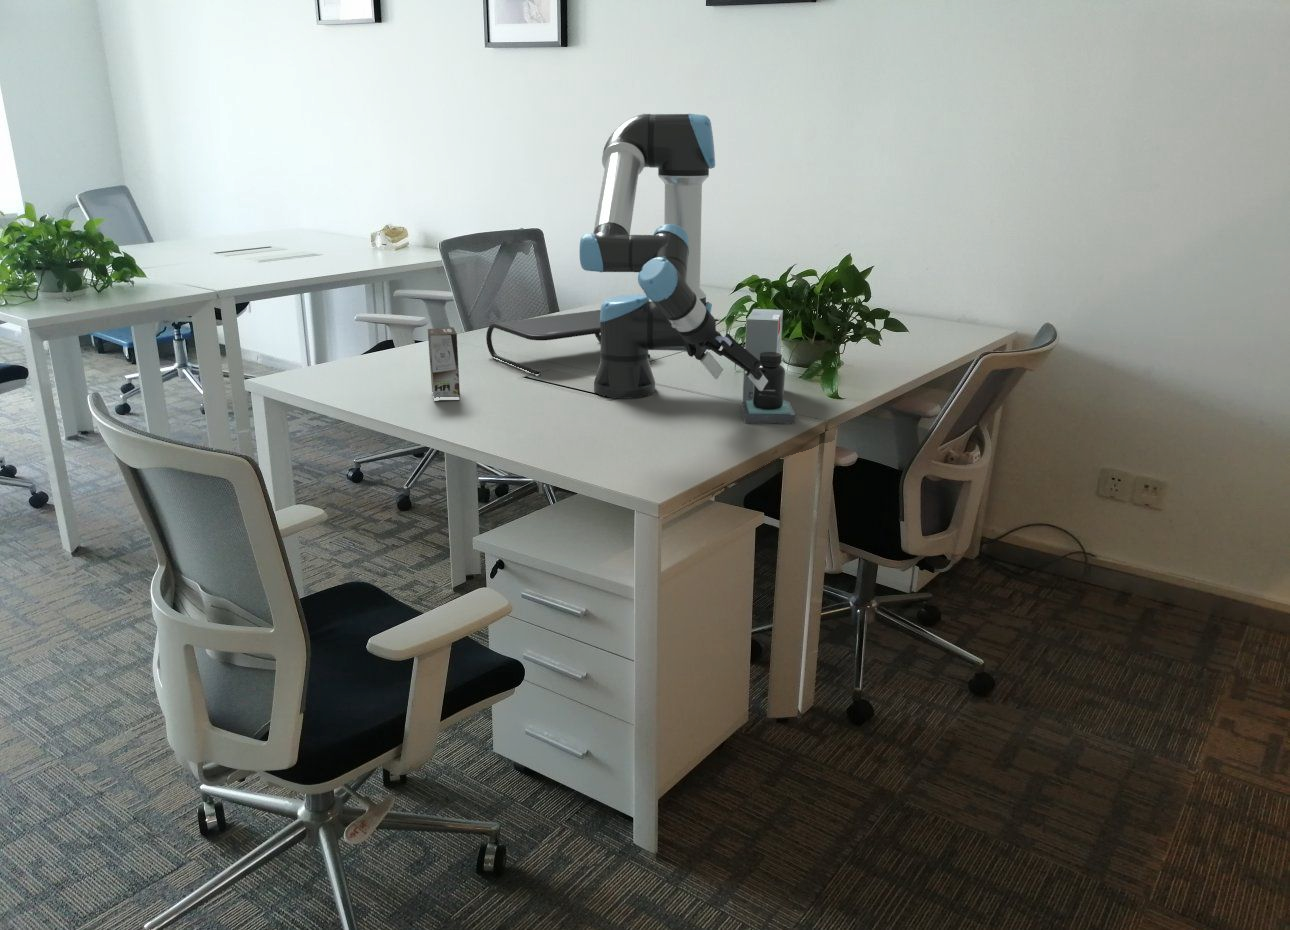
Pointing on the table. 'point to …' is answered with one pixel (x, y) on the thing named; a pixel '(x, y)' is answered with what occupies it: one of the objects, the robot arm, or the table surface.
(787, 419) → the scale base
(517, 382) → the table surface
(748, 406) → the scale plate
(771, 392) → the supplement bottle
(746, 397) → the hard drive box
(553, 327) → the monitor stand
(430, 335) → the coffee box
